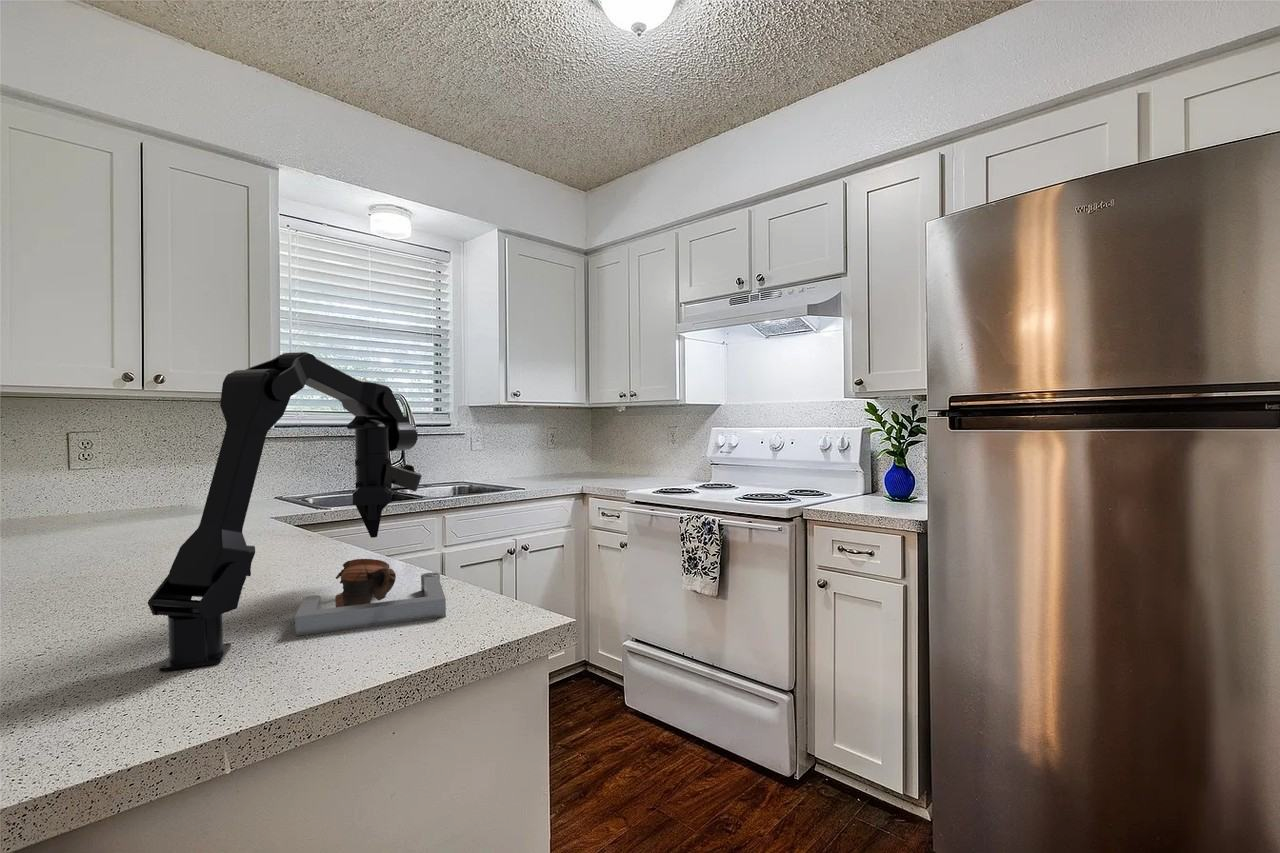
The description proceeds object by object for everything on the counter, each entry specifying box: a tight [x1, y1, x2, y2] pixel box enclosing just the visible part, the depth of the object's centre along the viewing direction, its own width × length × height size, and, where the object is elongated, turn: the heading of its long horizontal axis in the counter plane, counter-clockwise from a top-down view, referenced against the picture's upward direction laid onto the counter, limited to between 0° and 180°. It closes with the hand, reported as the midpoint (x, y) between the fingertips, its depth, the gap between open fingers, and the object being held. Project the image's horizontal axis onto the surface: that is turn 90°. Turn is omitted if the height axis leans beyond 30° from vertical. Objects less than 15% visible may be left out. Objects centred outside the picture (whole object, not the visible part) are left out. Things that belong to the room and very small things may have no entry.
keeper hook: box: [294, 572, 447, 637], centre depth 101 cm, size 18×21×3 cm
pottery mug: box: [334, 558, 397, 607], centre depth 106 cm, size 12×10×8 cm
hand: (374, 537), depth 115 cm, fingers closed
